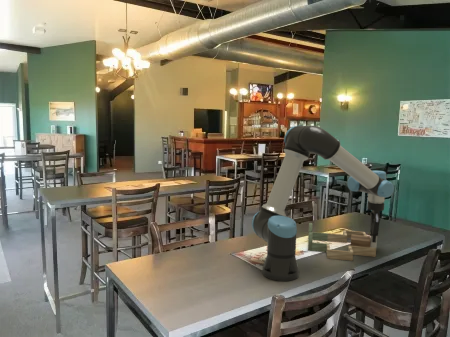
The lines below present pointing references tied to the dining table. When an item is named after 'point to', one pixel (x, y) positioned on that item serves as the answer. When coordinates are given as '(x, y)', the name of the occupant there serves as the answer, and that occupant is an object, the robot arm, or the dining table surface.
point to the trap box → (338, 238)
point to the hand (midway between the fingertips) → (373, 247)
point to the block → (360, 240)
